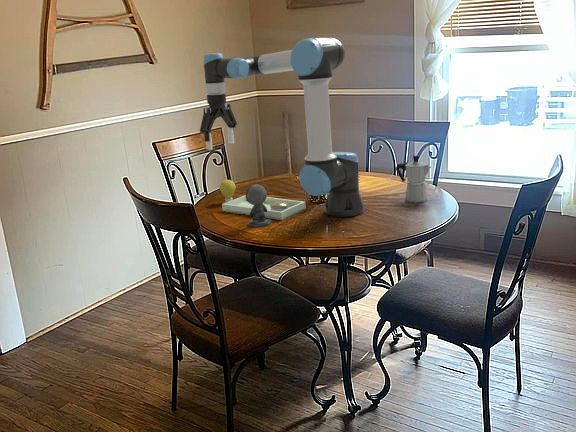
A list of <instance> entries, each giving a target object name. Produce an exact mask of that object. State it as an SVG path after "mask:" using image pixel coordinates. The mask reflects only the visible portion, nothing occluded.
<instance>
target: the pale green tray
mask: <svg viewBox="0 0 576 432" xmlns="http://www.w3.org/2000/svg"><path fill="white" fill-rule="evenodd" d="M274 202H286V203H288V209H286V210H283V211H273V210H271V208H270V205H271V204H272V203H274ZM262 204H263V205H264V206H265V207H266V208H267V212H264V213H265V218H266V219H270V220H271V219H272V220H277V221H278V220H279V221H283V220H285V219H287V218H290V217H292V216H294V215H297V214H298V213H300V212H303V211H304V210H306V209H307V207H306V201H301V200H294V199H286V198H280V197H279V198H278V197H269V196H267V197H266V200H265V201H264V202H263V203H262ZM221 206H222V207H221V208H222V212H224V211H225V212H226V213H232V214H240V215H244V214H245V215H244V216H250V212H251V209H252V207H253V206H254V205H252V204H250V203H248V201H247V200H246V194H244V195H242V196H239V197H237V198H235V199H233V200H231V201H229V202H226V201H225V202H223V203H222V204H221ZM225 212H224V213H225Z"/></svg>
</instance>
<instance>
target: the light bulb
mask: <svg viewBox="0 0 576 432" xmlns="http://www.w3.org/2000/svg"><path fill="white" fill-rule="evenodd" d="M236 189H237V188H236V184H235V182H234V181H233V180H231V179H226V180H223V181H221V182H220V185H219V190H220V192H221V194H222V195H223V196H224V197H225V198H224V201H225V203H226V202H229V201H231V200H234V199H233V195H234V194H235V191H236Z"/></svg>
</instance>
